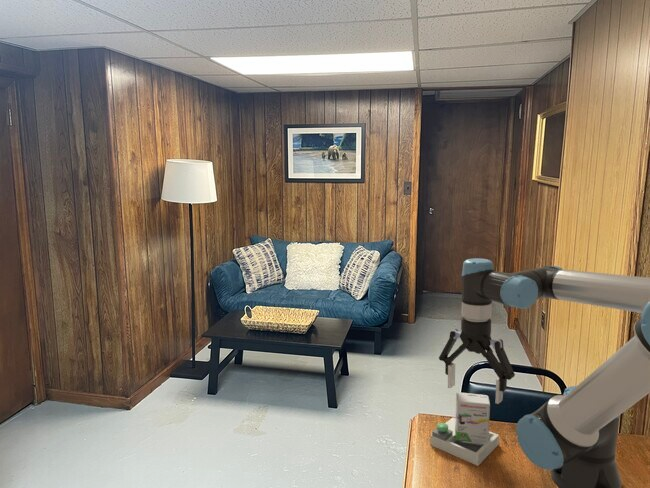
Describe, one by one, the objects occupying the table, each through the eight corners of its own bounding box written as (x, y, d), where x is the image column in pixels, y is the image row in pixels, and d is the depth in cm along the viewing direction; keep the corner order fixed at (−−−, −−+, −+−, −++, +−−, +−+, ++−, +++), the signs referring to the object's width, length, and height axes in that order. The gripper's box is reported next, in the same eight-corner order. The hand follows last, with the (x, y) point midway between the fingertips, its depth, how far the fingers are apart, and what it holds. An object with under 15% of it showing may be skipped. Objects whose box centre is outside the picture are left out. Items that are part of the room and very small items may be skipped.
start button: (449, 433, 132) (450, 425, 132) (444, 438, 130) (444, 429, 129) (440, 429, 134) (440, 421, 134) (434, 434, 132) (434, 425, 131)
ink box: (455, 440, 129) (457, 400, 127) (455, 430, 134) (456, 391, 132) (488, 444, 127) (490, 403, 125) (486, 434, 132) (488, 394, 130)
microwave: (498, 444, 132) (499, 431, 131) (477, 465, 123) (478, 451, 123) (452, 426, 142) (452, 413, 141) (430, 444, 133) (430, 431, 132)
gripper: (530, 323, 119) (526, 403, 122) (441, 306, 136) (440, 376, 139) (518, 331, 114) (515, 414, 117) (427, 312, 131) (426, 385, 134)
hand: (474, 393), depth 128 cm, fingers open, 13 cm apart
